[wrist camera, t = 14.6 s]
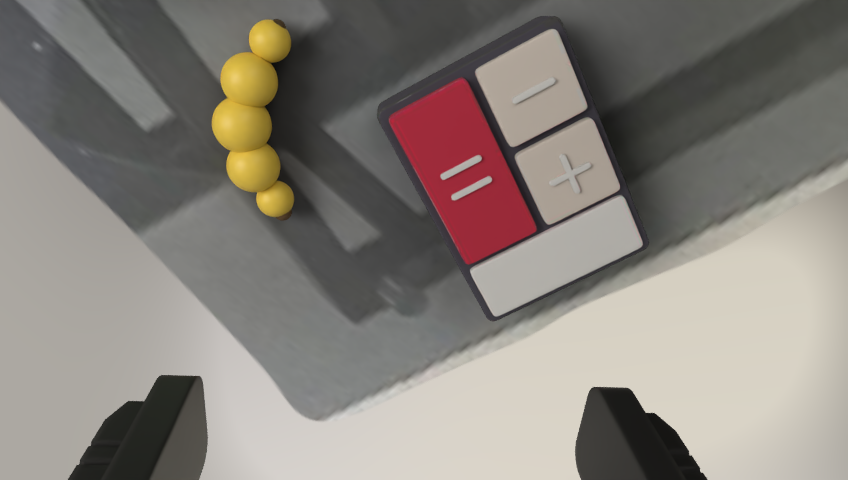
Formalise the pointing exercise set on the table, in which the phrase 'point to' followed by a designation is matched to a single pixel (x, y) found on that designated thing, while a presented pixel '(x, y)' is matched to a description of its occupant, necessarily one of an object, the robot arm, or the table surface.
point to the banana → (254, 118)
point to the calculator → (516, 168)
